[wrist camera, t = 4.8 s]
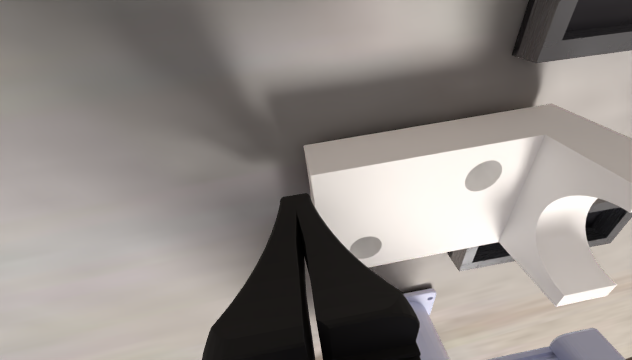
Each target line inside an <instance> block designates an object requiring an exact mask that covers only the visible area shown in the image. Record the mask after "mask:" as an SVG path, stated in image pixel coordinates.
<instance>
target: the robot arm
mask: <svg viewBox="0 0 632 360" xmlns="http://www.w3.org/2000/svg"><path fill="white" fill-rule="evenodd" d="M304 256H305V260H306V264H307V268H308V272H309V276H310V280H311V286H312V293H313V300H314V307H315V314H316V321H317V327H318V332H319V338H320V344H321V349H322V356H323V360H450V358H449V356H448V354H447V352H446V350H445V348H444V346H443V344H442V342H441V339H440V337H439V335H438V333H437V331H436V329H435V327H434V325H433V323H432V321H431V319H430V317H429V316H430V312H431V309H432V306H433V303H434V300H435V297H436V291H435V290H434V289H432V288H431V289H425V290H420V291H414V292H409V293H404V294H403V293H402V292H401V291H400V290H398V289H397V288H395V287H394V286H392V285H391V284H389V283H388V282H386V281H385V280H383V279H382V278H381V277H379V276H378V275H377V274H375V273H374V272H373V271H371V270H370V269H369V268H368V267H367V266H366V265H364V264H363V263H362V262H361V261H360V260H358V259H357V258H356V257H355V256H354V255H353V254H352V253H351V252H350V251H349V250H348V249H347V248H346V247H345V246H344V245H343V244H342V243H341V242H340V241H339V240H338V238H337V237H336V236H335V235H334V234H333V233H332V231H331V230H330V229H329V228H328V226H327V225H326V224H325V222H324V221H323V219H322V218H321V216H320V215H319V213H318V212H317V210H316V208H315V207H314V205H313V203H312V201H311V199H310V196H309V195H308V194H307V193H305V194H299V195H293V196H287V197H282V198H281V200H280V207H279V211H278V215H277V218H276V221H275V224H274V227H273V230H272V233H271V235H270V238H269V240H268V243H267V245H266V247H265V249H264V251H263V254H262V256H261V257H260V259H259V261H258V263H257V265H256V267H255V268H254V270H253V272H252V273H251V275H250V277H249V278H248V280H247V282H246V283H245V285H244V286H243V288H242V289H241V290H240V292H239V293H238V295H237V296H236V297H235V299H234V300H233V302H232V303H231V304H230V306H229V307H228V308H227V309H226V310H225V312H224V313H223V314H222V315H221V317H220V318H219V319H218V320H217V321H216V323H215V324H214V325H213V326H212V327H211V330H210V332H209V335H208V338H207V342H206V345H205V348H204V352H203V357H202V360H315V354H314V347H313V340H312V333H311V326H310V319H309V312H308V304H307V297H306V282H305V260H304ZM488 360H625V359H624V358H623V356H622V355H621V354H620V353H619V352H618V351H617V350H616V349H615V348H614V347H613V346H612V345H611V344H610V343H609V342H608V341H607V340H606V338H605V337H604V336H603V335H602V334H601V333H600V332H599V331H598V330H597V329H595V328H589V329H585V330H580V331H575V332H570V333H566V334H563V335H560V336H558V337H557V338H555V339H554V340H553V341H552V342H551V344H550V346H549V347H544V348H539V349H535V350H530V351H525V352H521V353H516V354H511V355H507V356H502V357H497V358H492V359H488Z"/></svg>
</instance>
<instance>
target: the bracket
mask: <svg viewBox="0 0 632 360" xmlns="http://www.w3.org/2000/svg"><path fill="white" fill-rule="evenodd" d="M304 152H305V158H306V165H307V172H308V178H309V185H310V194H311V201H312V203H313V205H314V207H315V208H316V210H317V212H318V213H319V215H320V216H321V218H322V219H323V221H324V222H325V224H326V225H327V226H328V228H329V229H330V230H331V231H332V233H333V234H334V235H335V236H336V237H337V238H338V240H339V241H340V242H341V243H342V244H343V245H344V246H345V247H346V248H347V249H348V250H349V251H350V252H351V253H352V254H353V255H354V256H355V257H356V258H357V259H358V260H360V261H361V262H362V263H363V264H364V265H366V266H367V267H368V268H369V267H374V266H379V265H384V264H389V263H394V262H399V261H404V260H409V259H414V258H420V257H425V256H430V255H435V254H440V253H445V252H450V251H455V250H460V249H466V248H471V247H476V246H481V245H486V244H491V243H496V242H499V243H500V244H501V245H502V246H503V248H504V249H505V250H506V251H507V252H508V253H509V254H510V256H511V257H512V258H513V259H514V260H515V261H516V262H517V263H518V265H519V266H520V267H521V268H522V269H523V270H524V271H525V272H526V274H527V275H528V276H529V277H530V278H531V279H532V280H533V282H534V283H535V284H536V285H537V286H538V287H539V288H540V289H541V291H542V292H543V293H544V294H545V295H546V296H547V297H548V298H549V300H550V301H551V302H552V303H553V304H554V305H555V306H556V307H557V306H561V305H566V304H571V303H575V302H580V301H585V300H590V299H594V298H599V297H604V296H607V295H608V294H609V293H610V292H611V291H612V290H613V289H614V288H615V287H616V286H617V284H616V283H615V282H614V281H613V280H612V279H611V278H610V277H609V276H608V275H607V274H606V273H605V272H604V270H603V269H602V268H601V267H600V265H599V264H598V262H597V261H596V259H595V258H594V256H593V254H592V252H591V250H590V247H589V245H588V241H587V237H586V230H585V224H586V217H587V214H588V211H589V209H590V207H591V206H592V204H593V203H594V202H595V201H596V199H598V198H599V199H602V200H605V201H608V202H610V203H613V204H615V205H617V206H619V207H621V208H623V209H624V210H626V211H628V212H629V213H630V212H632V139H631V138H629V137H627V136H625V135H622V134H620V133H618V132H615V131H613V130H611V129H609V128H606V127H604V126H602V125H599V124H597V123H595V122H593V121H590V120H588V119H586V118H584V117H581V116H579V115H577V114H574V113H572V112H570V111H568V110H565V109H563V108H561V107H558V106H556V105H554V104H546V105H541V106H535V107H529V108H523V109H517V110H511V111H505V112H499V113H493V114H487V115H481V116H475V117H469V118H463V119H458V120H452V121H446V122H440V123H434V124H428V125H422V126H416V127H410V128H404V129H398V130H392V131H386V132H380V133H375V134H369V135H363V136H357V137H351V138H345V139H339V140H333V141H327V142H321V143H315V144H309V145H304Z"/></svg>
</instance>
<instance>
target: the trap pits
mask: <svg viewBox="0 0 632 360" xmlns="http://www.w3.org/2000/svg"><path fill="white" fill-rule="evenodd" d="M629 50H632V0H529V3H528V6H527V9H526V12H525V16H524V19H523V22H522V25H521V28H520V31H519V35H518V38H517V41H516V44H515V47H514V50H513V54H512V55H513V56H516V57H519V58H522V59H525V60H529V61H532V62H535V63H540V62H548V61H555V60H562V59H570V58H577V57H585V56H592V55H599V54H607V53H614V52H622V51H629ZM631 217H632V212H630V213H629V212H628V211H626V210H624V209H623V208H621V207H619V206H617V205H615V204H613V203H610V202H608V201H605V200H602V199H599V198H598V199H596V201H595V202H594V203H593V204H592V206H591V207H590V209H589V211H588V214H587V217H586V224H585V230H586V237H587V241H588V245H589V247H592V246H598V245H603V244H608V243H611V242H612V240H613V239H614V238H615V237H616V236H617V234H618V233H619V232H620V231H621V230H622V228H623V227H624V226H625V225H626V224H627V222H628V221H629V220H630V219H631ZM449 257H450V258H451V260H452V261H453V263H454V264H455V266H456V267H457V269H458V270H459V271H464V270H469V269H474V268H480V267H485V266H490V265H496V264H501V263H506V262H512V261H515V260H514V259H513V258H512V257H511V256H510V254H509V253H508V252H507V251H506V250H505V249H504V248H503V246H502V245H501V244H500V243H499V242H496V243H491V244H486V245H481V246H476V247H471V248H466V249H460V250H455V251H450V253H449Z"/></svg>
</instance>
